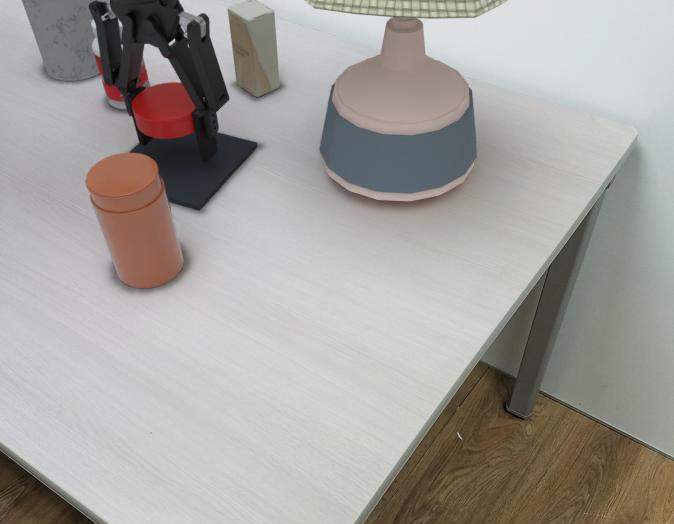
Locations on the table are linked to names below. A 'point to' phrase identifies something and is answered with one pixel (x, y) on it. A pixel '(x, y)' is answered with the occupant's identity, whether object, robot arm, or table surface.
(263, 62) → the box
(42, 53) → the gray plant pot
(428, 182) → the desk lamp
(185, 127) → the lid
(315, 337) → the table surface
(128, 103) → the robot arm
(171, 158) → the coaster
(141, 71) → the pill bottle
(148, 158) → the jar
